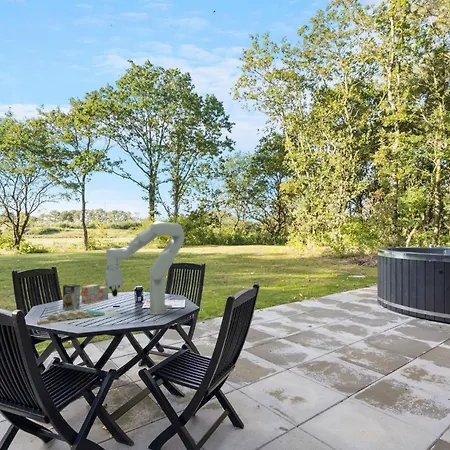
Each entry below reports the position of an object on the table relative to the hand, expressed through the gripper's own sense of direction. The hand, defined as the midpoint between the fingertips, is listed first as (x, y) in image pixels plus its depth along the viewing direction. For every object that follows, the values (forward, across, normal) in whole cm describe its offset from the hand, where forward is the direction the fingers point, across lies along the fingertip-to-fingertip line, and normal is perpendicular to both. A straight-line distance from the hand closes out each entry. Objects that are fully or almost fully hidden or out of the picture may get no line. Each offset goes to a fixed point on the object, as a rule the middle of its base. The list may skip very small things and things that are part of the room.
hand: (114, 296), depth 229 cm
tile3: (+9, -19, +1) cm, 21 cm away
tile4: (+9, -24, +1) cm, 26 cm away
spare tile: (+10, -7, +1) cm, 12 cm away
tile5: (+9, -29, +1) cm, 31 cm away
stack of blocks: (+11, 0, +49) cm, 50 cm away
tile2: (+10, -14, +1) cm, 17 cm away
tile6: (+9, -34, +1) cm, 35 cm away
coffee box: (+10, -20, +31) cm, 38 cm away
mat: (+10, -18, +1) cm, 21 cm away
